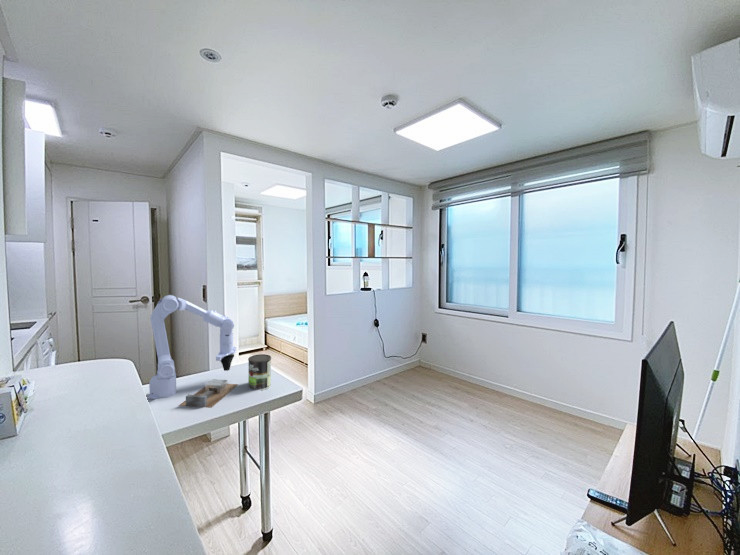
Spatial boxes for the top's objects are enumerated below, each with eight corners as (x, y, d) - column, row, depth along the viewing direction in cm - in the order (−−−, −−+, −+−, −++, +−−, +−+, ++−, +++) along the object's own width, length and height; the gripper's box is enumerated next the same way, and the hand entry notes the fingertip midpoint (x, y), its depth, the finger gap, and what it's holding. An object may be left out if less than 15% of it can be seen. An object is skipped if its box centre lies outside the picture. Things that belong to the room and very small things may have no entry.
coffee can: (258, 393, 137) (259, 363, 136) (243, 387, 142) (243, 358, 141) (275, 384, 146) (275, 356, 145) (260, 380, 151) (260, 352, 150)
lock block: (205, 392, 135) (205, 384, 135) (213, 386, 141) (213, 379, 141) (220, 393, 135) (220, 385, 134) (227, 387, 140) (227, 380, 140)
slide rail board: (178, 407, 123) (178, 396, 122) (210, 384, 145) (210, 374, 144) (211, 409, 122) (211, 398, 122) (238, 385, 144) (238, 376, 143)
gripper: (226, 347, 137) (226, 376, 138) (241, 338, 152) (242, 364, 153) (211, 347, 138) (211, 375, 139) (228, 338, 152) (228, 364, 153)
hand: (226, 370), depth 146 cm, fingers closed
